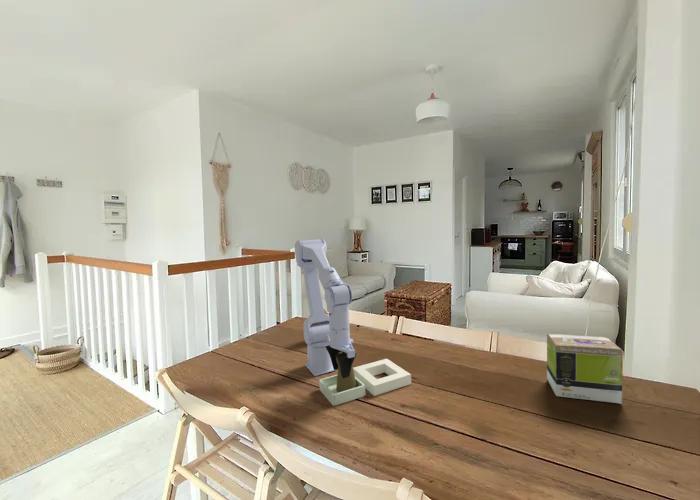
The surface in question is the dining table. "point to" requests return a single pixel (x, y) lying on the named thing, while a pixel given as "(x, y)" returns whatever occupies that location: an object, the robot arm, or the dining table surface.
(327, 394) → the tray
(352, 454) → the dining table surface
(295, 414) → the dining table surface
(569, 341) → the tea box
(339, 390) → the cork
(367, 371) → the holder
